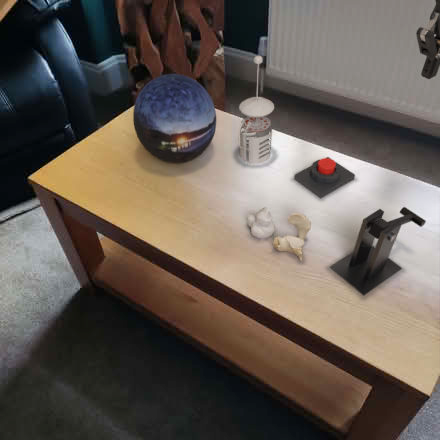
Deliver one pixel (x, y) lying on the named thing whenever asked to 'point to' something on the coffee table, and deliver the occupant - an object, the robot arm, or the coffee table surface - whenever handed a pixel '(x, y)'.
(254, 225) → the white lumpy piece
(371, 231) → the lever
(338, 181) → the control block
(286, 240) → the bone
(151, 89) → the decorative sphere
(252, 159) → the french press
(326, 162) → the button
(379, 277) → the bracket
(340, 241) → the coffee table surface
